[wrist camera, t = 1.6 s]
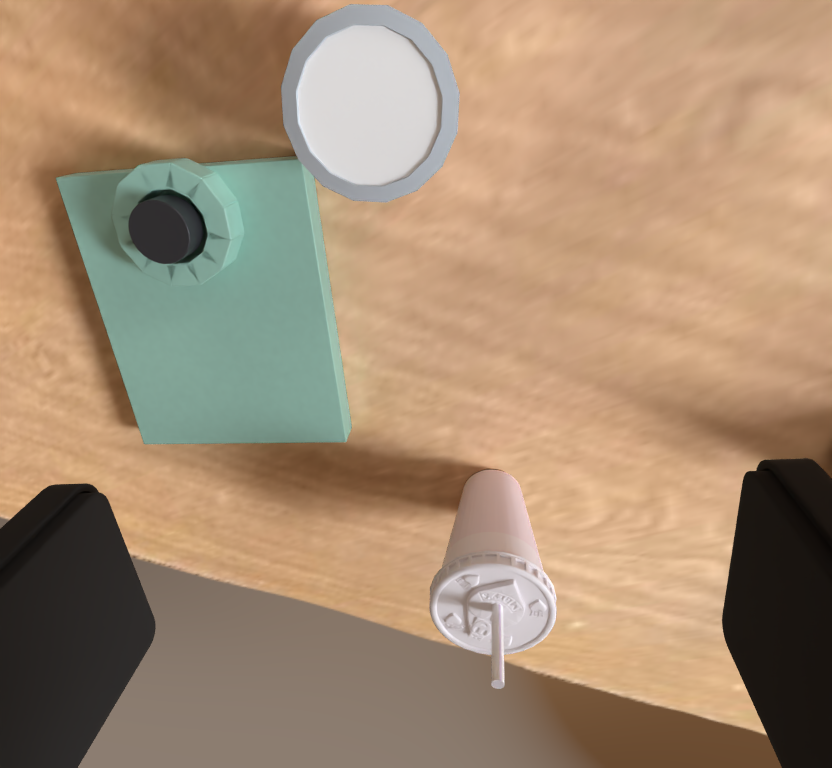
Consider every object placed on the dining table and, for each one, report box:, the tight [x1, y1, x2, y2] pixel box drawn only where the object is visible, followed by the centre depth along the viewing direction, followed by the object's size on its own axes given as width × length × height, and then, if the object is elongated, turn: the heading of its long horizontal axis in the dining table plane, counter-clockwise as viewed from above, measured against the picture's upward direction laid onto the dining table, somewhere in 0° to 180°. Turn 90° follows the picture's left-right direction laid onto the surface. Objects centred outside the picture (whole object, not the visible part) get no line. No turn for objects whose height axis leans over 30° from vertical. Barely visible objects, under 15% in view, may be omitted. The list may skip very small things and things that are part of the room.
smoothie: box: [430, 470, 556, 689], centre depth 32 cm, size 6×6×14 cm
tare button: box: [128, 195, 203, 264], centre depth 29 cm, size 3×3×2 cm
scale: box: [56, 156, 352, 444], centre depth 33 cm, size 16×13×4 cm
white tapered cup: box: [281, 4, 460, 202], centre depth 26 cm, size 7×7×7 cm
